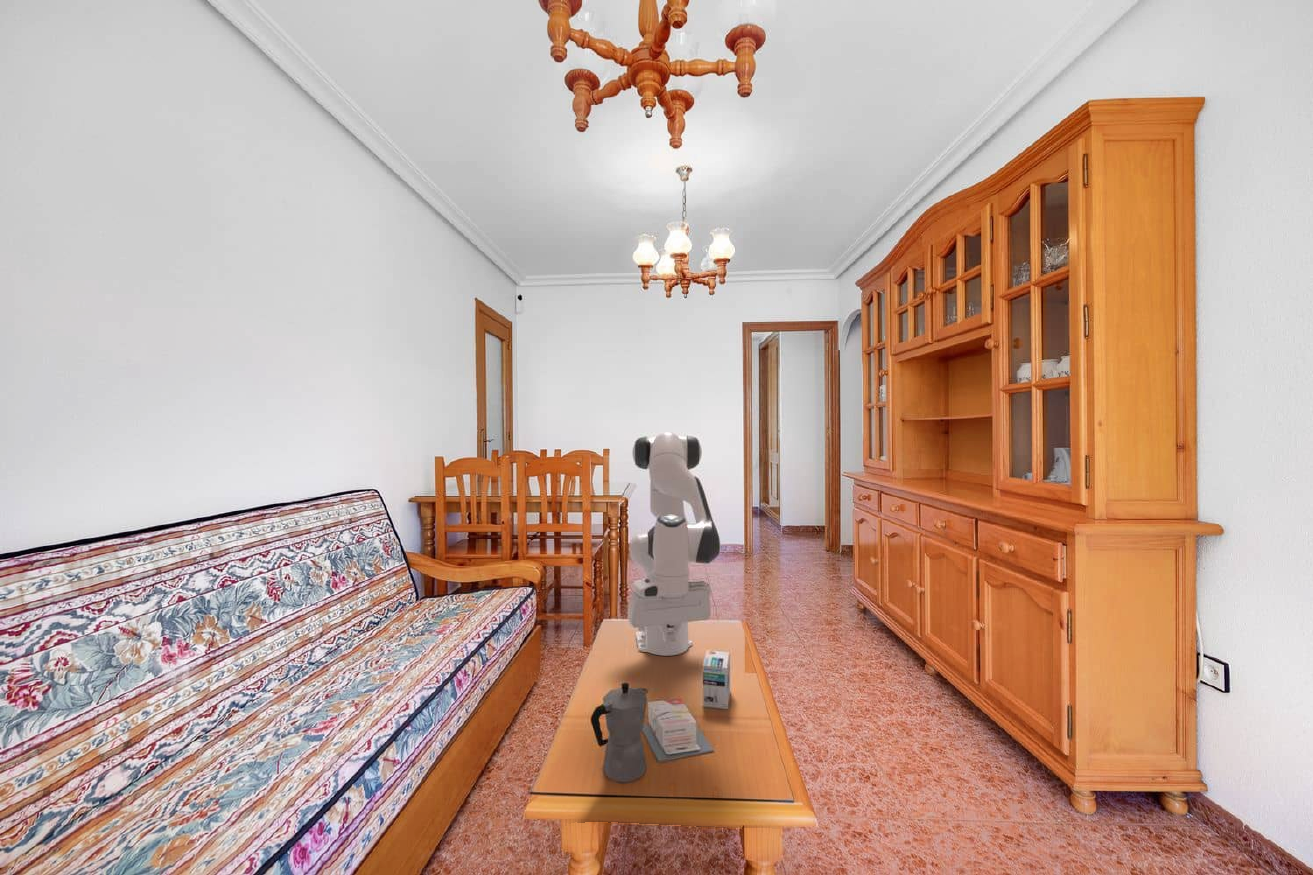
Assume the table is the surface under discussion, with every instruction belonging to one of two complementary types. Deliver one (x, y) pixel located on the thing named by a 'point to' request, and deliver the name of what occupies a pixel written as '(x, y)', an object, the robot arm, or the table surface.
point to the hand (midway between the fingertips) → (669, 640)
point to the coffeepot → (622, 732)
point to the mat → (662, 756)
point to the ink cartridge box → (673, 725)
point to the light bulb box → (716, 679)
